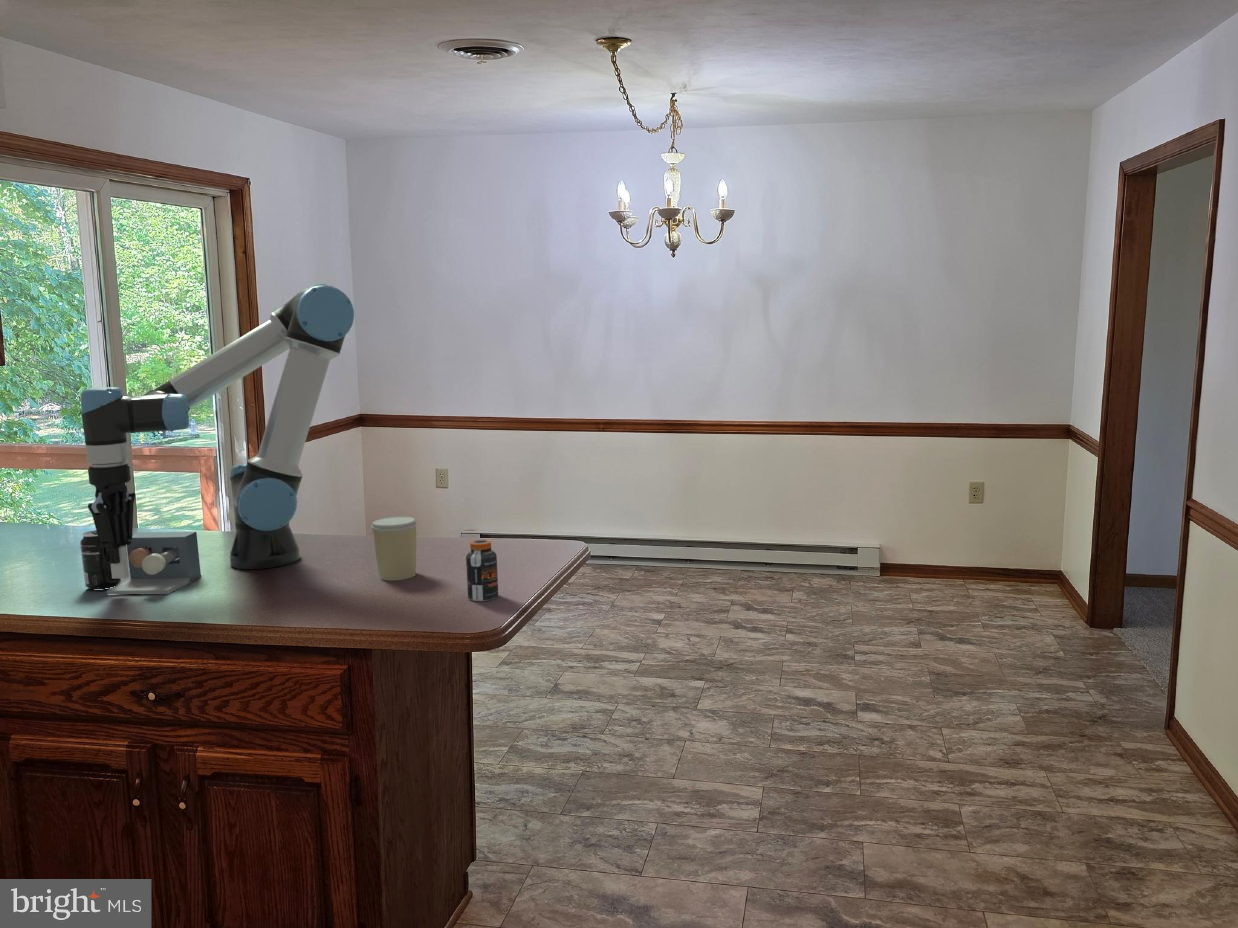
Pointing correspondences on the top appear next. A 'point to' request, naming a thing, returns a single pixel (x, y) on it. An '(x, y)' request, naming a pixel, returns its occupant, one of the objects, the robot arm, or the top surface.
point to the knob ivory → (159, 561)
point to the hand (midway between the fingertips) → (120, 577)
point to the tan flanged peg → (139, 556)
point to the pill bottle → (482, 571)
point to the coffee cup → (395, 547)
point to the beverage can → (96, 563)
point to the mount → (173, 572)
